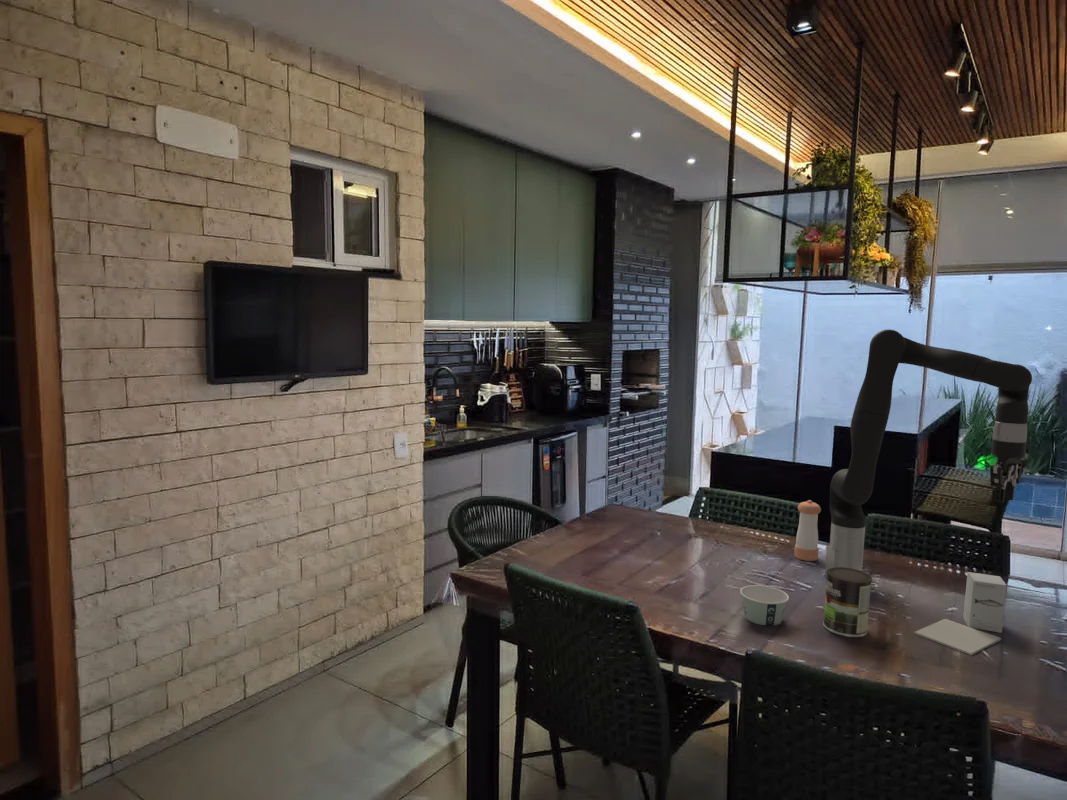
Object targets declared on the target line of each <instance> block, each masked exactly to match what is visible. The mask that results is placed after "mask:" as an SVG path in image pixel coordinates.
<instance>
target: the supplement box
mask: <svg viewBox="0 0 1067 800" xmlns="http://www.w3.org/2000/svg"><path fill="white" fill-rule="evenodd" d="M966 573H967V576H966V585H965V595H964V605H963V606H964V607H963V614H962V615H963V616H962V618H963V619H964V621H965V623H966V626H968V627H970V628H973V629H976V630H981V631H982V630H983V631H989V632H993V633H994V632H995V633H999V634H1002V633H1003V626H1004V625H1003V624H1004V617H1005V616H1004V615H1005V606H1006V596H1007V588H1008V586H1007V583H1006V582H1005V581H1004V579H1003V578H1002V577H1001V576H999V575H991V574H986V573H977V572H971V571H967V572H966Z"/></svg>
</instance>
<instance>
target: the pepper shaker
mask: <svg viewBox="0 0 1067 800" xmlns="http://www.w3.org/2000/svg"><path fill="white" fill-rule="evenodd" d="M797 509H798V510H797V511H798V512H799V522H798V527H797V533H796V537H795V538H796V540H795V545H794V552H793V553H794V554H793V556H794V558H796V559H797V560H802V561H805V562H806V561H807V562H815V561H818V559H819V547H818V545H819V530H818V522H819V521H818V520H819V519H818V517H819V514H820V513H821V512H822V508H821V505H819V504H817V503H816V502H814V501H812V500H811V499H808V500H806V501H802V502H800V503H799V504H798V505H797Z"/></svg>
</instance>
